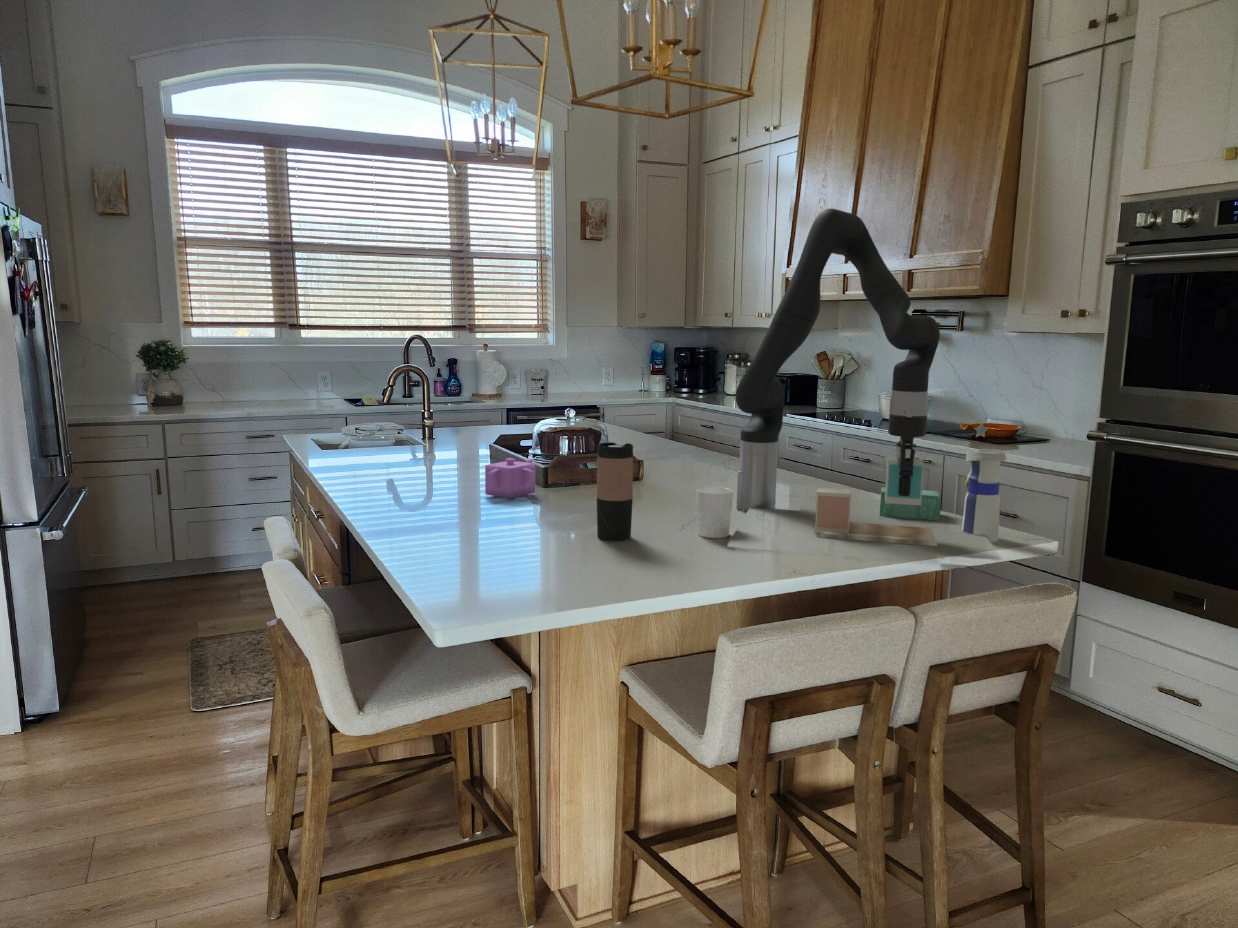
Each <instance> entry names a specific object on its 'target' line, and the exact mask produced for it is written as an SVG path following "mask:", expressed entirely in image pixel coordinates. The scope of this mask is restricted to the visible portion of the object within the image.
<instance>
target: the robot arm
mask: <svg viewBox="0 0 1238 928" xmlns="http://www.w3.org/2000/svg"><path fill="white" fill-rule="evenodd" d="M832 254H835V255H838V256H839V255H840V256H844V257H845V258H846V259H847V260H848V261H849V262H850V263H851V264H852V265H853V266H854V267H855V269H856V270H857V272H858V275H859V280H860V286H861V290H862V292H863V294H864V296H865V298H866V300H867V301H868V303H869V304H870V305H871V307H872V308H873V310H874V311H875V313H877V315H878V317H879V321H880V324H881V326H882V331H883V333H884V335H885V337H886V339H887V341H888V342H889V343H890V345H892V346H893V347H894V348H896V349H898V350H901V351H908V353H907V355H906V357H905V359H904V360H903V361H900V362H898V363H896V364H895V365H894V367H893V371H892V372H893V373H892V384H891V395H890V401H889V410H888V411H889V415H888V430H887V433H888V434H889V435H890V436H894V437H899V441H898V442H897V443H895V452H896V457H895V458H897V465H898V466H899V475H898V476H899V492H898V493H899V495H900V496H909V495H910V483H911V478H912V475H913V467H914V465H915V459H916V454H917V447H918V446H917V444H916V443H914V439H915V438H922V437H925V436H926V434H927V429H928V428H927V426H928V410H929V397H928V393H929V392H928V391H929V390H928V389H929V377H930V376H929V375H930V374H929V373H930V369H931V367H932V364H933V361H934V358H935V355H936V351H937V349H938V345H939V341H940V329H939V328H940V327H939V324H938V322H937V320H936V319H935V318H933V317H932V316H930V315H924V314H923V315H921V314H920V315H918V314H917V315H916V314H915V315H914V314H909V313H908V311H909V309H910V307H911V304H912V303H911V298H910V296H909V295H908V293H907V292H906V291H905V290H904V288H903V287H902V285H901V283H899V281H898V280H897V279H896V278H895V276H894V275H893V273H892V272H891V270H890V269H889V268H888V266H887V265H886V263H885V261H884V259H883V258H882V256H881V254H880V253H879V250H878V248H877V246H876V245H875V242H874V240H873V238H872V236H871V234H870V232H869V230H868V228H867V225H865V223H864V221H863V220H862V218H861V217H859V216H858V215H857V214H854V213H851V212H849V211H848V212H847V211H844V210H841V209H840V210H839V209H837V208H826V209H823V210H822V211H821V212H819V214H817V216H816V218H815V219H814V220H813V223H812V225H811V227H810V229H809V232H808V234H807V237H806V240H805V243H804V246H803V248H802V252H801V254H800V257H799V260H798V263H797V265H796V268H795V269H794V271H793V274H792V277H791V280H790V282H789V284H788V286H787V288H786V290H785V292H784V295H783V296H782V298H781V301H780V302H779V304H778V307H777V308H776V310H775V313H774V316H773V318H772V320H771V322H770V324H769V327H768V329H767V331H766V333H765V336H764V337H763V339H762V342H760V343H761V344H760V346H759V348H758V350H757V352H756V354H755V356H753V357H754V358H753V359H752V361H751V363H749V365H748V367H747V369H746V371H745V372H744V373H743V376H742V377H741V379H740V380H739V383H738V385H737V387H736V391H735V402H736V405H737V407H738V409H739V410H740V411H741V412H743V413H745V414H750V415H751V416H750V419H749V421H748V422H747V424H746V425H744V426H743V427H742V428H741V431H740V439H739V445H740V446H739V447H740V448H739V467H738V469H739V470H737V486H736V487H737V489H736V510H741V511H746V512H748V511H749V509H751V508H753V509H764V510H765V509H766V510H775V509H776V501H777V500H776V497H777V496H776V495H777V473H778V452H779V451H778V450H779V447H778V446H779V435H780V433H781V430H782V428H783V421H784V420H783V419H784V410H785V390H784V386H783V383H782V382H781V380H780V379H779V378H778V377H776V376H777V374H778V373H779V370H781V368H782V366H783V365H784V364H785V362H786V361H787V360H789V358H791V356H792V355H793V354H794V353H795V352H796V351H797V350H798V349H799V348H800V347H801V346H802V345H803V344H804V342H805V341H806V340H807V338H808V336H809V335H810V333H811V331H812V330H813V327H814V325H815V322H816V321H817V319H818V317H819V314H820V311H821V297H822V296H821V279H822V275H823V272H824V270H825V267H826V265H827V262H828V260H829V258H830V257H831V256H832ZM900 460H901V461H900ZM903 467H909V471H907V470H903Z"/></svg>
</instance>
